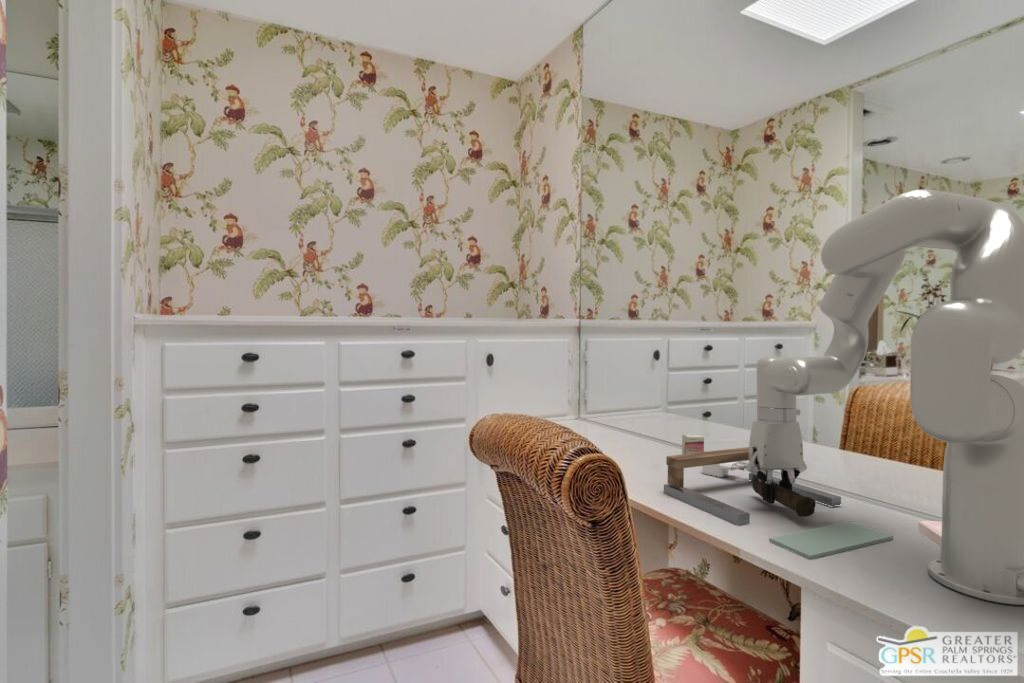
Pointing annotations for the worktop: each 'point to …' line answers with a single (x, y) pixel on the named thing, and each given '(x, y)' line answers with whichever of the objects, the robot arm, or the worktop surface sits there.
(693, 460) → the wooden bridge block
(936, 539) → the soap bar
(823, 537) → the mat
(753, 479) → the dark brown rough bar
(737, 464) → the power adapter
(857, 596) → the worktop surface
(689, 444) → the small box
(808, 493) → the rails
